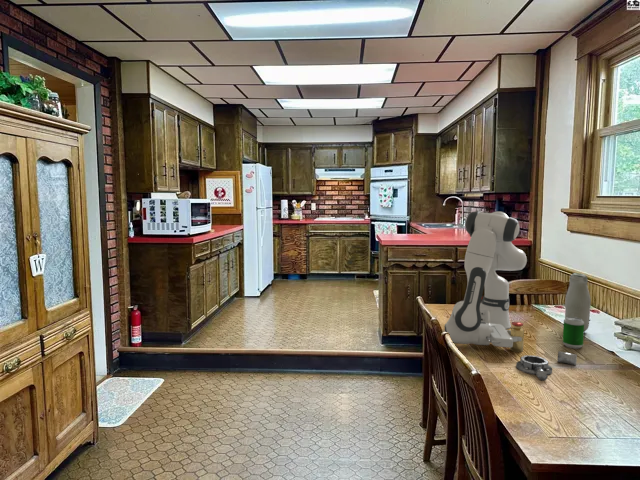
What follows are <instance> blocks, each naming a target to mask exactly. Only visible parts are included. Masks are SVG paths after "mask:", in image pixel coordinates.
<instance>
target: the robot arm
mask: <svg viewBox="0 0 640 480" xmlns="http://www.w3.org/2000/svg"><path fill="white" fill-rule="evenodd" d="M464 225H465V230H466V232H467V234H469V237H470V239H469V242H468V245H467V246H466V247H467V248H466V250H465V251H466V252H465V255H464V264H463V265H464V270H465V274H466V278H467V279H466V281H467V285H466V290H465V294H464V298H463V300H460V301H457V302H455V304H454V305H453V308H452V311H451V315H450V317H449V318H448V320H447V321H446V323H444V333H445V332H448V333H449V334H450V337H451V339H452V341H453V342H454V343H455V344H460V345H461V344H462V345H469V344H474V345H477V346H489V345H490V344H491V345H493V346H494V347H499V348H500V347H502V348H510V347H513V342H516V341H522V338H521V336H515V337H513V336H510V335H511V328H512V323H511V321H510V320H511V319H510V314H509V311H510V310H509V309H510V296H509V295H510V293H509V291H510V285H509V282H508V280H507V279H505V278H504V277H502V276H500V275H498V274H497V272H496V271H509V272H511V271H521V270H523V269H524V268H525V267H526V265H527V262H528V259H527V256H526V255H527V254H526V253H525V251H523V250H522V249H519V248H518V247H516V246H515V245H514V244H513V242H514V241H515V240H516V238H517V236H518V235H519V233H520V222H519V221H518V220H517V218H514V217H511V216H510V217H509V216H508V215H507V214H506V213H505V212H504V211H493V212H491V213H490V212H481V211H476V210H475V211H472V212H470V213H469V214H468V215H467V217H466V219H465V224H464ZM483 292H484V295H483ZM453 342H452V343H453ZM454 343H453V344H454Z"/></svg>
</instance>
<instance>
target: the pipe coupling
mask: <svg viewBox="0 0 640 480" xmlns="http://www.w3.org/2000/svg"><path fill="white" fill-rule="evenodd" d="M557 362H558V363H562V364H568V365H573V366H576V365H577V354H576V353H570V352H564V351H558V352H557Z"/></svg>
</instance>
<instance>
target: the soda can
mask: <svg viewBox="0 0 640 480" xmlns="http://www.w3.org/2000/svg"><path fill="white" fill-rule="evenodd" d="M562 331H563V332H562V333H563V334H562V343H563V345H564V346H565V347H566V348H569V349H574V350H575V349H578V350H579V349H581V348H582V347H583V346H584V337H585V336H584V333H585V331H584V322H583V321H582V319H580V318H576V317H567V318H566V319H565V318H564V319H563V330H562Z"/></svg>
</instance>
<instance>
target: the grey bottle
mask: <svg viewBox="0 0 640 480" xmlns="http://www.w3.org/2000/svg"><path fill="white" fill-rule="evenodd" d="M568 285H569V286H568V289H567V292H566V295H565V298H564V300H565V302H564V304H565V305H564V307H565V308H564V309H565V310H564V319H566V318H567V317H576V318H580V319H582V321H583V322H584V332H586V331H587V330H588V329H589V327H590V319H591V318H590V315H591V302H592V301H591V295H590V291H589V286H588V276H587V274H584V273H582V272H581V273H579V272H574V273H572V274H570V277H569V284H568Z"/></svg>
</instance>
